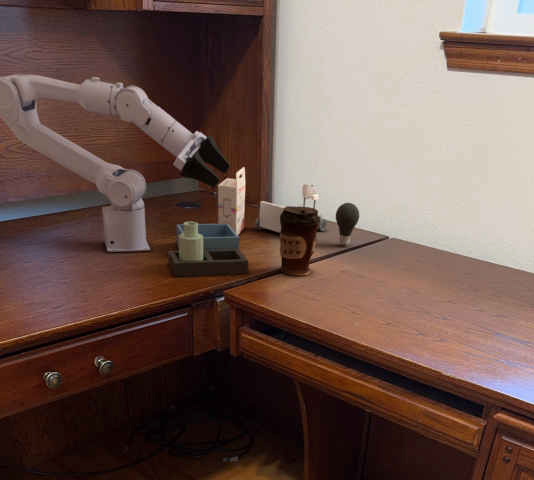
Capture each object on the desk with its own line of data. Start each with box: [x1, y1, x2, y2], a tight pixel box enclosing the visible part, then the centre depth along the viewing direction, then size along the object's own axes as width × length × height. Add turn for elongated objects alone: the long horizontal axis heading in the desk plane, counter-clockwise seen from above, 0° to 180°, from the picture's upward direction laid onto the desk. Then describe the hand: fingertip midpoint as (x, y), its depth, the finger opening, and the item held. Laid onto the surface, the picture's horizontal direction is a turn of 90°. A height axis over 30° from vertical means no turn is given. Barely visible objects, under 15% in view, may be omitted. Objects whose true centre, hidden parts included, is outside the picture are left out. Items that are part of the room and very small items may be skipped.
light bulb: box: [335, 202, 360, 248], centre depth 160 cm, size 6×6×10 cm
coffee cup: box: [279, 205, 320, 276], centre depth 141 cm, size 9×8×13 cm
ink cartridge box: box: [217, 166, 246, 236], centre depth 163 cm, size 9×5×15 cm, turn 168°
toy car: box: [254, 184, 328, 233], centre depth 169 cm, size 18×10×12 cm
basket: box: [176, 223, 240, 250], centre depth 152 cm, size 12×11×4 cm
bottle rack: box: [167, 248, 249, 277], centre depth 142 cm, size 16×8×3 cm, turn 106°
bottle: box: [178, 221, 203, 262], centre depth 140 cm, size 5×5×10 cm
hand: (222, 176), depth 142 cm, fingers open, 7 cm apart
